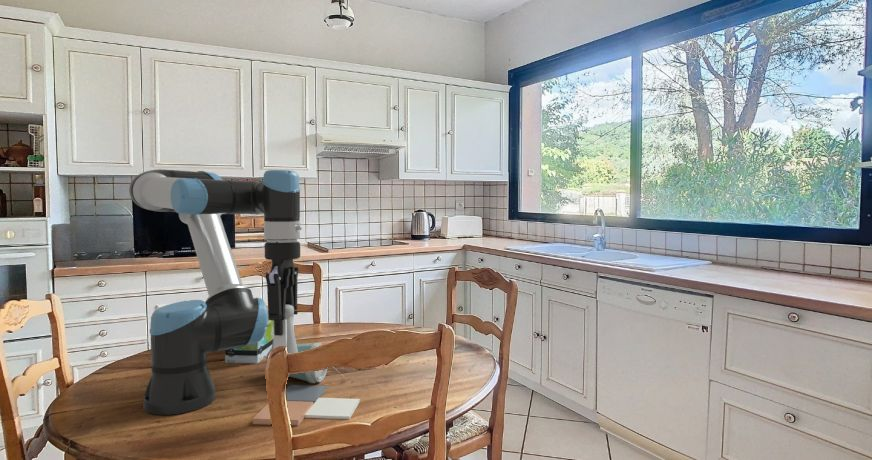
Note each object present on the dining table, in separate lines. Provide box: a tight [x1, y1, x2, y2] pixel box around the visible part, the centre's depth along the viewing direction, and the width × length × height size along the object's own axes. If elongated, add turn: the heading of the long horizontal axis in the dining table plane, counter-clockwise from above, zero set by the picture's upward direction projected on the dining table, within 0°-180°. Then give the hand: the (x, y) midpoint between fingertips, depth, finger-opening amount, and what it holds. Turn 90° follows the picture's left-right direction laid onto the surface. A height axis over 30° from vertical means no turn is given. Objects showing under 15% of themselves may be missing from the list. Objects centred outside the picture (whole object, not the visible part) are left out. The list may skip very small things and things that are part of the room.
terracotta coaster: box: [252, 401, 313, 426], centre depth 111 cm, size 10×10×1 cm
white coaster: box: [304, 397, 361, 420], centre depth 114 cm, size 10×10×1 cm
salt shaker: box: [271, 304, 298, 353], centre depth 110 cm, size 6×6×13 cm
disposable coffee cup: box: [265, 342, 328, 384], centre depth 133 cm, size 11×11×15 cm
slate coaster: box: [285, 384, 329, 404], centre depth 123 cm, size 10×10×1 cm
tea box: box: [224, 307, 273, 364], centre depth 151 cm, size 15×10×15 cm, turn 179°
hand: (284, 346), depth 110 cm, fingers closed on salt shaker, 3 cm apart
